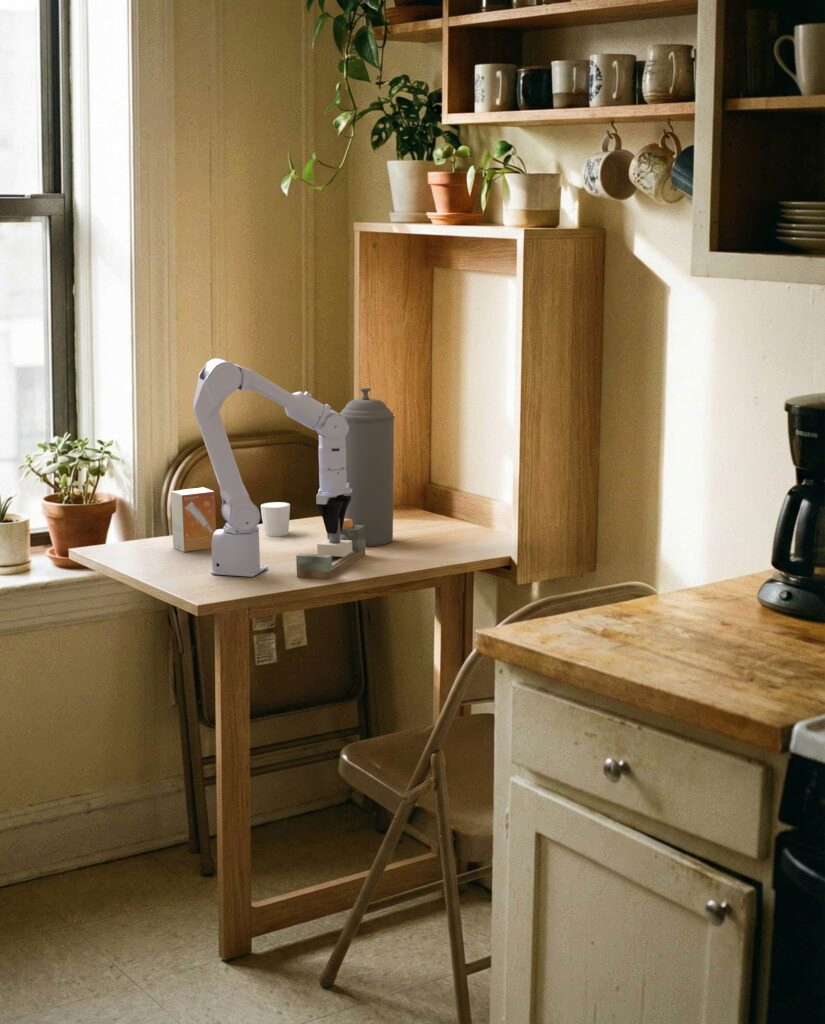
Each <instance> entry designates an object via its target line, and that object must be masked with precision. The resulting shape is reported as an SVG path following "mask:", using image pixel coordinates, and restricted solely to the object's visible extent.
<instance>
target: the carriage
mask: <svg viewBox="0 0 825 1024" xmlns="http://www.w3.org/2000/svg"><path fill="white" fill-rule="evenodd" d="M316 547H317V548H316V550H317V553H316V554H320V555H332V556H338V557H345V556H346V555H348V554H349V553H351V552H352V540H340V519H339V523H338V531H337V533H336V534H332V533H329V539H327V538H325V539H323V540H322V541H320V542H318V543H317V544H316Z"/></svg>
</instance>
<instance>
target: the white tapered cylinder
mask: <svg viewBox="0 0 825 1024" xmlns="http://www.w3.org/2000/svg"><path fill="white" fill-rule="evenodd" d="M290 509H291V504H290V503H289V502H283V501H273V502H272V501H271V502H264V503H262V504H260V511H261V513H260V514H261V519H262V520H261V521H262V525H263V526H262V527H263V534H264V536H267V537H282V536H286V535H289V530H290V512H291V510H290Z"/></svg>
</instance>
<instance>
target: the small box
mask: <svg viewBox="0 0 825 1024" xmlns="http://www.w3.org/2000/svg"><path fill="white" fill-rule="evenodd" d="M215 493H216V492H215V490H212V489H210V488H207V487H204V486H202V487H198V488H197V487H196V488H187V489H186V488H185V489H179V490H170V504H171V506H170V507H171V508H170V509H171V527H172V528H171V529H172V545H173V546H172V547H173V548H174V549H175V550H176V549H177V550H179V551H181V552H184V553H187V552H193V551H199V550H209V549H212V547H211V543H212V537H213V534H214V532H215V531H216V530H217V524H216V523H217V521H216V520H217V519H216V499H215V497H216V496H215V495H216V494H215Z"/></svg>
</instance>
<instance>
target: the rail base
mask: <svg viewBox="0 0 825 1024" xmlns="http://www.w3.org/2000/svg"><path fill="white" fill-rule="evenodd" d="M326 534H327V536H326V537H327V538H326V539H329V533H327V532H326ZM340 540H352V552H351V553H349V554H348V555H346V556H345V557H338V556H332V555H320V554H317V553H316V554H315V553H297V554H296V555H295V556H296V557H295V558H296V559H295V560H296V562H295V563H296V577H297V578H305V579H307V578H308V579H309V578H310V579H321V580H322V579H324V580H330V579H331V578H333V577H334V576H336V575H337V574H339V573H340V572H342V571H343V570H345V569H346V568H348V567H349V566H351V565H352V564H354V563H355V562H357V561H358V560H360V559H361V558H363V557H364V556H366V555H367V554H366V546H365V525H353V528H351V529H345V528H342V530H341V531H340Z"/></svg>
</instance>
